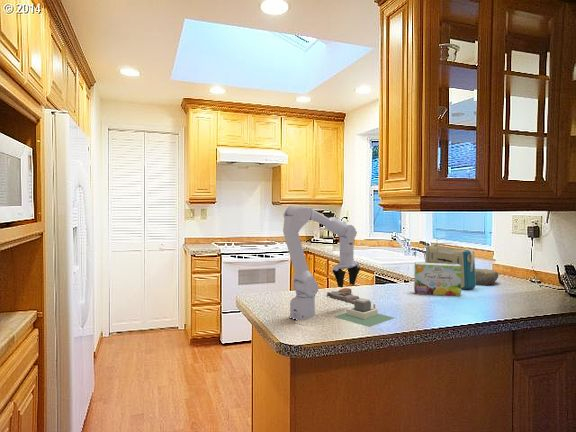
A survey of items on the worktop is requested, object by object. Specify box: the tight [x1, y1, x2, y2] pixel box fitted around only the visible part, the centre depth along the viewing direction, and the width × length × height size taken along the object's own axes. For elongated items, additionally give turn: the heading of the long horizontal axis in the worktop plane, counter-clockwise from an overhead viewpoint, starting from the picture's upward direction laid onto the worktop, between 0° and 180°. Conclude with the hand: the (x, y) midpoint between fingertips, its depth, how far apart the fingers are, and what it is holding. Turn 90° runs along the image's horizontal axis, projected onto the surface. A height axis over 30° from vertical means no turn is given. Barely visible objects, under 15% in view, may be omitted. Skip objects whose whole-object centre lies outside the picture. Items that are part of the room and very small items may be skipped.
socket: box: [346, 306, 379, 319], centre depth 159 cm, size 8×8×2 cm
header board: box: [333, 312, 395, 328], centre depth 156 cm, size 16×17×1 cm
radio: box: [424, 237, 477, 291], centre depth 219 cm, size 30×8×25 cm, turn 25°
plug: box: [353, 297, 372, 312], centre depth 158 cm, size 4×4×6 cm
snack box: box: [413, 261, 462, 297], centre depth 198 cm, size 21×6×15 cm, turn 76°
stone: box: [475, 268, 499, 286], centre depth 223 cm, size 14×19×8 cm
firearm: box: [326, 287, 360, 305], centre depth 187 cm, size 29×2×15 cm
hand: (346, 285), depth 168 cm, fingers open, 7 cm apart
